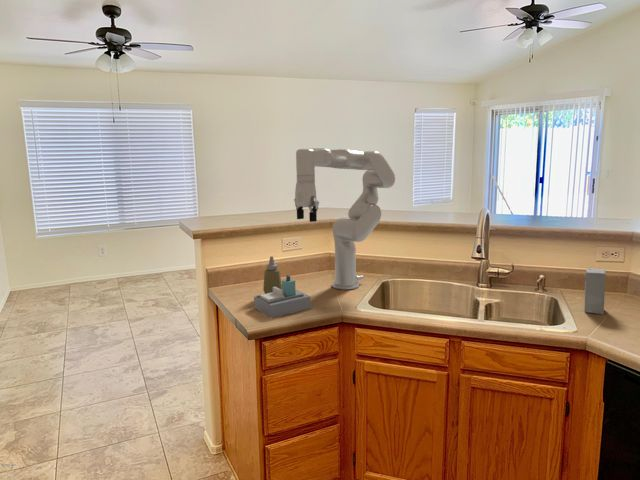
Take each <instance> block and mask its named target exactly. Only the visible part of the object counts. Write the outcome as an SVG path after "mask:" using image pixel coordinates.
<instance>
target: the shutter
mask: <svg viewBox="0 0 640 480" xmlns="http://www.w3.org/2000/svg"><path fill="white" fill-rule="evenodd" d="M262 294H263V295H262ZM262 294H259V295H260V298H262V299H264V300H266V301H271V300H276V299H280V298H285V296H283V290H282V289H279V288H277V287H273V292H272V293H268V294H265V293H262Z"/></svg>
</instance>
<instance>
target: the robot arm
mask: <svg viewBox="0 0 640 480" xmlns="http://www.w3.org/2000/svg"><path fill="white" fill-rule="evenodd" d="M295 163H296V183H295V189H294V190H295V193H294V198H293V201H294V205H295V210H296V220H304V218H305V214H304V213H305V209H304V208H308V209H309V213H308V215H309V216H308V217H309V222H310V223H315V222H317V221H318V220H317V214H318V209H319V205H320V201H319V200H318V199H317V190H316V189H317V187H316V179H315V178H316V174H315V173H316V172H315V171H316V170H315V167H318V168H319V167H320V168H330V169H331V168H332V169H337V170H338V169H339V170H358V171H365V172H364V173H363V175H362V178H361V179H362V192H361V194H360V195H359V197H358V198H357V199H356V201H355V202H354V203H353V204H352V206H350V208H349V209H348V212H347V216H348V217H342V218H337V220H335V221H334V222H333V224H332V229H331V230H332V235H333V241H334V266H335V267H334V277H335V278H334V281H333V282H332V283H331V286H332V288H334V289H338V290H347V291H348V290H354V289H357V288H359V286H360V282H358V281H361V280H364V279H365V277H364V275H357V272H356V271H357V270H356V268H357V265H356V263H357V262H356V259H357V258H356V257H357V255H356V254H357V252H356V251H357V248H356V244H355V242H356V243H360V242H364V241H365V240H366V239H367V238H368V237H369V236H370V235H371V233H372V232H373V231H374V229H375V228H376V227H377V225H378V224H379V223H380V221H381V217H382V210H381V207H380V206H379V205H378V202H379V193H378V188H379V189H389V188H391V187H393V185H394V184H395V183H396V177H395V173H394V171H393V169H392V167H391V166H390V164H389V163H388V161H387V160H386V158H385V157H384V155H382V154H381V153H380V152H379V151H376V150H371V151H370V150H352V149H341V148H339V149H328V148H326V147H325V148H324V147H321V148H320V147H316V148H315V147H314V148H313V147H312V148H300V149H297V150H296V152H295Z"/></svg>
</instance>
